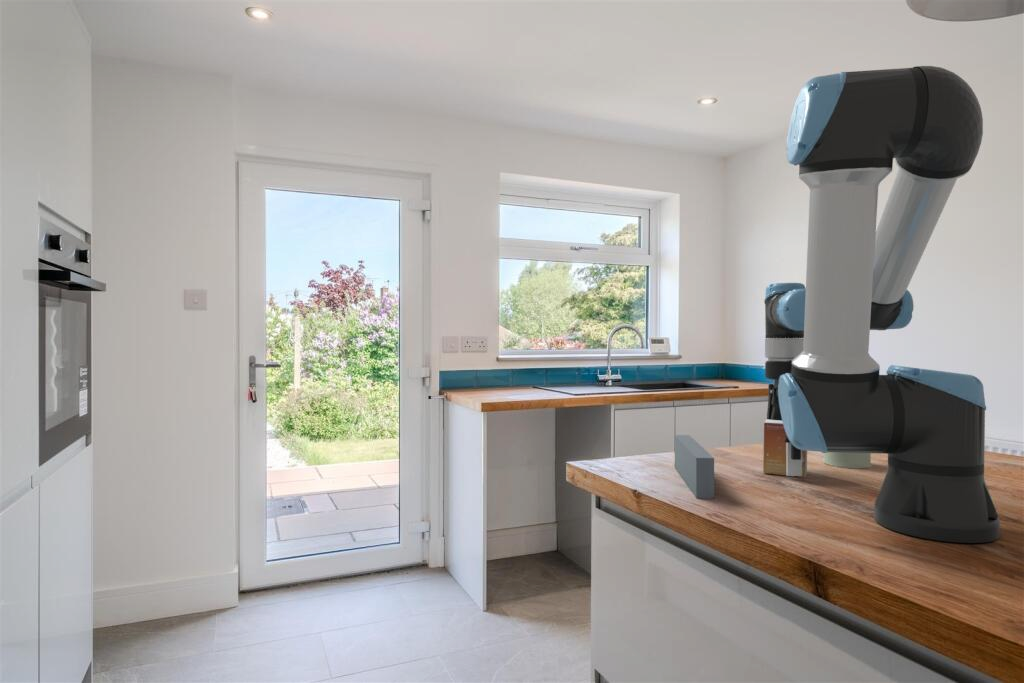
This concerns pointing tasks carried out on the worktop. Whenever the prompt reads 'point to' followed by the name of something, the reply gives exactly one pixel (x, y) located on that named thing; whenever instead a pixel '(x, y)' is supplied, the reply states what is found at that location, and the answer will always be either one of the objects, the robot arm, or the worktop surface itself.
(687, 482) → the wall
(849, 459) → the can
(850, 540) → the worktop surface
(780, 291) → the robot arm
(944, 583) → the worktop surface
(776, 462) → the small box
